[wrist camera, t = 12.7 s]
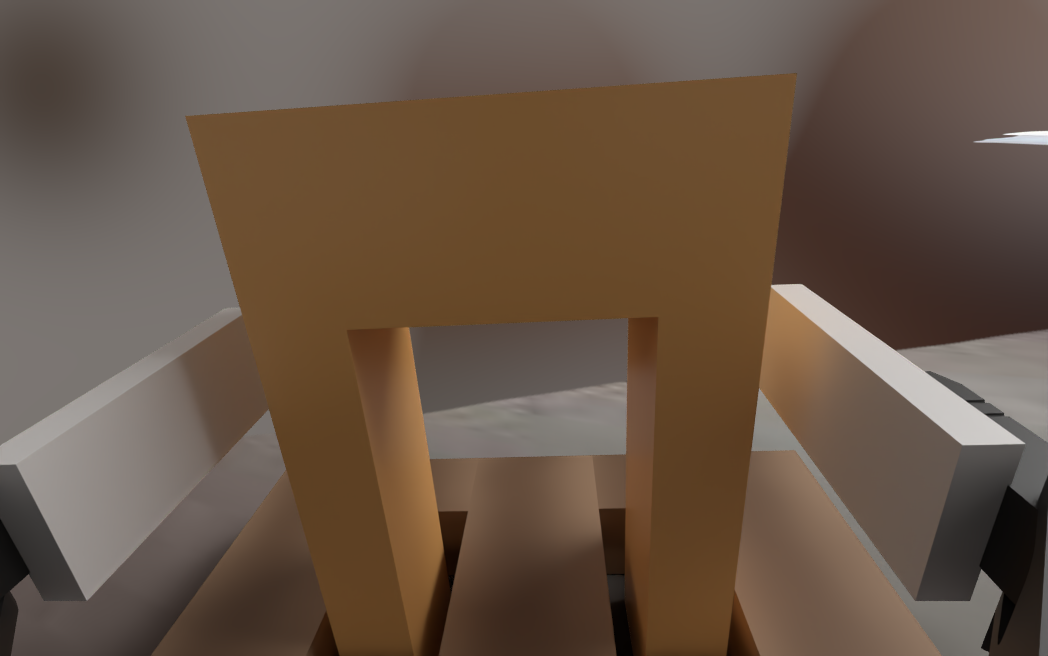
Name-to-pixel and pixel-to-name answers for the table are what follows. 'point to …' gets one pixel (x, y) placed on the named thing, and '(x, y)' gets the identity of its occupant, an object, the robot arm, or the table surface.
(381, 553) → the orange arch-shaped block
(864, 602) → the wooden slotted board
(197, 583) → the table surface
